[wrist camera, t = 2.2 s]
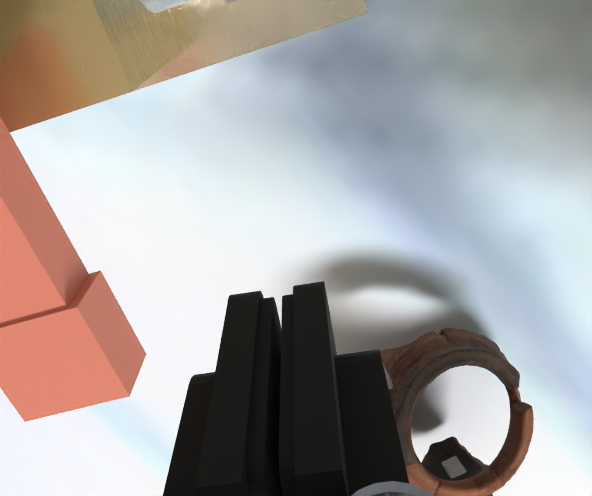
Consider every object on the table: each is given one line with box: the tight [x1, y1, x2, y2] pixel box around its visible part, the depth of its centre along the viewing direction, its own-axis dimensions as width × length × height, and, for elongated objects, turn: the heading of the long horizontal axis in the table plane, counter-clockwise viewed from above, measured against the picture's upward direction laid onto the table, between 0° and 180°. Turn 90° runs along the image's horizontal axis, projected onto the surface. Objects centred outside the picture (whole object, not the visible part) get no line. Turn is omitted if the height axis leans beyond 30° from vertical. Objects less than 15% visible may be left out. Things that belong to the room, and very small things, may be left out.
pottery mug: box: [380, 328, 534, 496], centre depth 30 cm, size 12×10×8 cm
